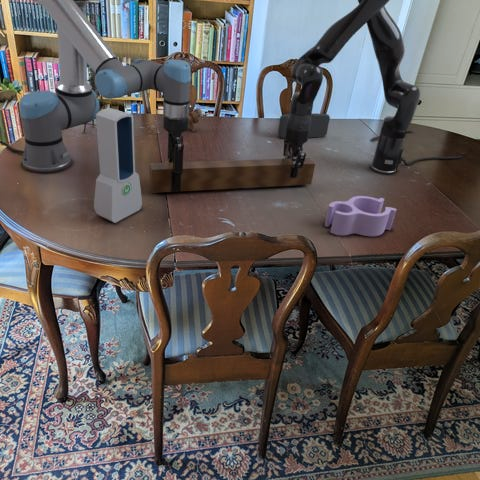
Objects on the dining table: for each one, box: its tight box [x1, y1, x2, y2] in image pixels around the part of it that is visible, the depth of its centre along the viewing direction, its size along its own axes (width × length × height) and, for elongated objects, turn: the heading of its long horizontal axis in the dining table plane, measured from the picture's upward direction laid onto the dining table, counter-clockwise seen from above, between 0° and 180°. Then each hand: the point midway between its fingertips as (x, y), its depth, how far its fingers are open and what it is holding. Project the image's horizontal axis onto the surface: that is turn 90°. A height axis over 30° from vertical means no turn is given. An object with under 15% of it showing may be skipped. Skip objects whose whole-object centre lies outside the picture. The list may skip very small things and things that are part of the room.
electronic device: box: [93, 107, 143, 224], centre depth 129 cm, size 12×8×30 cm, turn 148°
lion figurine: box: [188, 107, 203, 132], centre depth 197 cm, size 15×5×9 cm, turn 110°
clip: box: [324, 195, 398, 237], centre depth 141 cm, size 20×12×7 cm, turn 109°
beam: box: [149, 157, 316, 194], centre depth 154 cm, size 55×5×8 cm, turn 107°
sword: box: [371, 131, 411, 142], centre depth 217 cm, size 31×3×1 cm, turn 126°
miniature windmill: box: [83, 64, 107, 133], centre depth 181 cm, size 9×8×30 cm
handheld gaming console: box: [277, 113, 331, 139], centre depth 203 cm, size 23×3×10 cm, turn 108°
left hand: (174, 186), depth 150 cm, fingers closed on beam, 5 cm apart
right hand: (290, 173), depth 161 cm, fingers closed on beam, 5 cm apart
